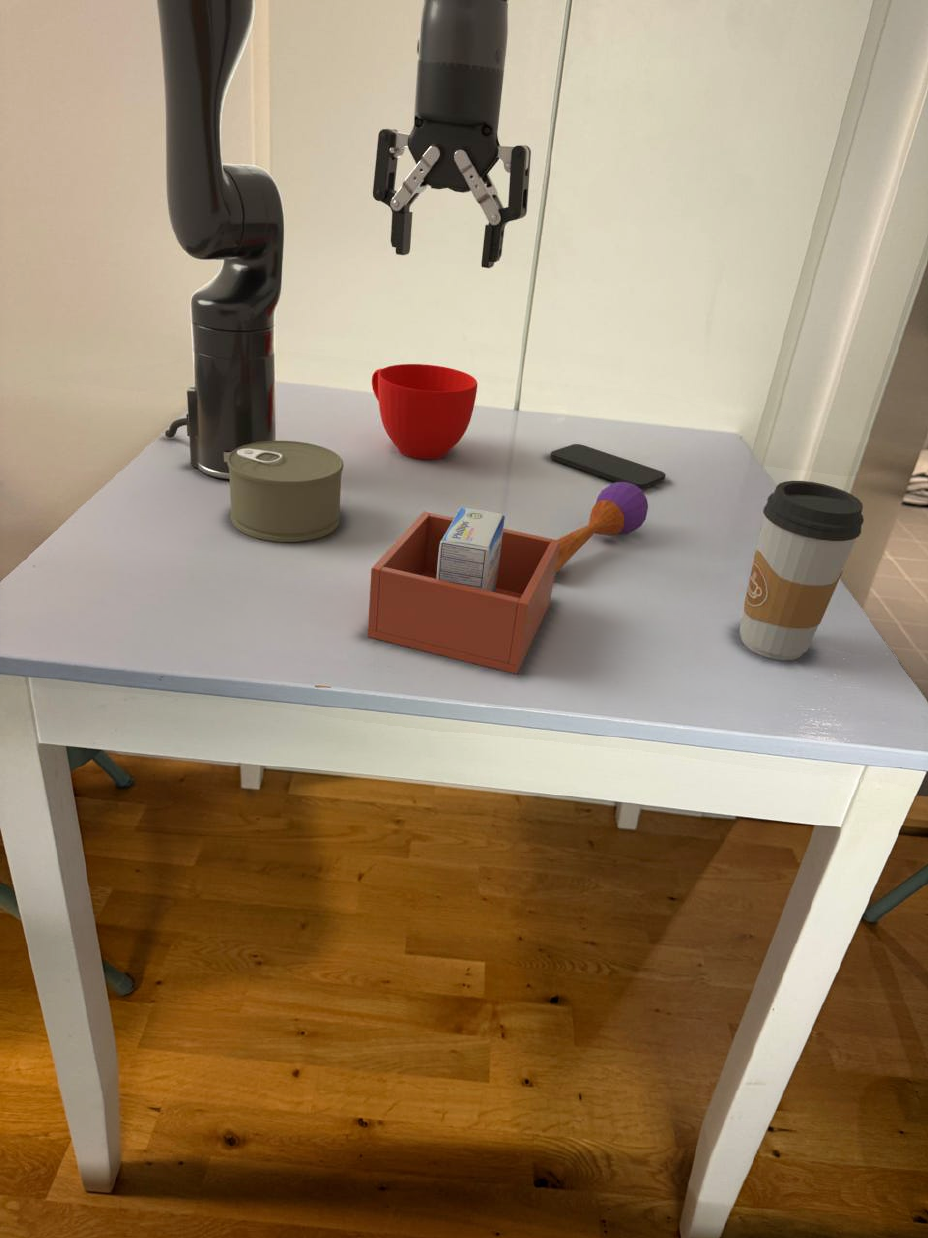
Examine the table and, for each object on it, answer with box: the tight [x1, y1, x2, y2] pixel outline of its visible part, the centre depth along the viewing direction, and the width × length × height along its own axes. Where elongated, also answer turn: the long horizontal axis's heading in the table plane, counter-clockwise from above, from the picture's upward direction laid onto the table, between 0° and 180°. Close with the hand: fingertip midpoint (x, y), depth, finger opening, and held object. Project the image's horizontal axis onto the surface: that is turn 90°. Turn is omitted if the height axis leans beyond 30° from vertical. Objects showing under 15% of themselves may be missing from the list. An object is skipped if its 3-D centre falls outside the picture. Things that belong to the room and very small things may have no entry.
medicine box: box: [437, 507, 506, 592], centre depth 80 cm, size 8×4×9 cm, turn 168°
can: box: [227, 440, 344, 543], centre depth 96 cm, size 12×12×7 cm
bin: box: [367, 511, 560, 675], centre depth 81 cm, size 14×14×7 cm
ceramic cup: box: [371, 363, 478, 460], centre depth 120 cm, size 13×17×10 cm
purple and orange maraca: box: [555, 482, 649, 574], centre depth 98 cm, size 6×6×20 cm
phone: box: [549, 443, 667, 490], centre depth 122 cm, size 7×1×15 cm
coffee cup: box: [739, 480, 865, 661], centre depth 81 cm, size 8×8×15 cm
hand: (444, 260), depth 85 cm, fingers open, 8 cm apart
